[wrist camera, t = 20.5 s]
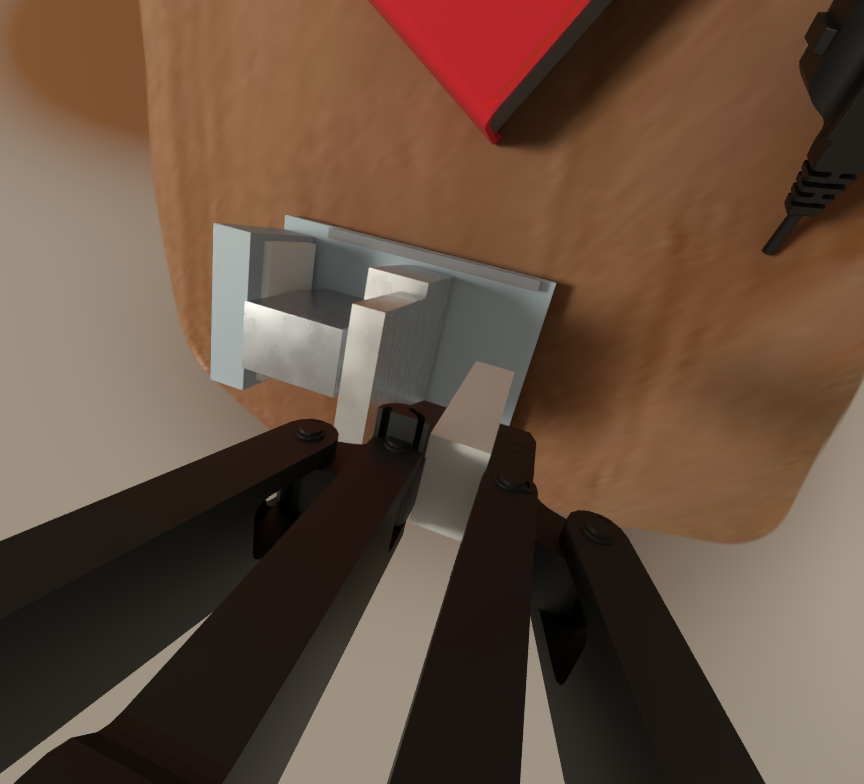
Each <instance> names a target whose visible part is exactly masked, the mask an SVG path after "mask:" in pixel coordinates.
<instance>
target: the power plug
mask: <svg viewBox="0 0 864 784" xmlns="http://www.w3.org/2000/svg"><path fill="white" fill-rule="evenodd" d="M805 39H806V41H807V43H808V47H807V49H806V51H805V52H804V54H803V56H802V58H801V59H800V61H799V66H800V73H801V76H802V79H803V81H804V84H805V86H806V89H807V91H808V93H809V96H810V98H811V101H812V103H813V105H814V107H815V108H816V110H817V111H818V112H819V113H820V115H821V116H822V117H823V119H824V125H823V128H822V130H821V131H820V133H819V134H818V136H817V137H816V139H815V140H814V142H813V144H812V146H811V148H810V150H809V152H808V154H807V158H808V160H805V161H804V162H803V165H802V167H801V168H802V171H800V172H799V173H798V175H797V177H796V180H797V182H795V183H793V185H792V187H791V193H789V194H788V196H787V198H786V200H785V203H784V204H785V208H786V212H787V214H788V215H787V216H786V218H785V219H784V220H783V222H782V223H781V224H780V226H779V227H778V229H777V230H776V231H775V233H774V234H773V235H772V237H771V238H770V239H769V241H768V242H767V244H766V245H765V246H764V248H763V249H762V251H763V253H765V254H767V255H773V254H774V253H775V252H776V251H777V250H778V248H779V247H780V246H781V244H782V243H783V242H784V240H785V239H786V238H787V237H788V235H789V234H790V233H791V231H792V230H793V229H794V228H795V226H796V225H797V224H798V222H799V221H800V220H801V218H802V217H803V216H809V217H814V216H816V215H818V214H819V213H820V212H821V211H822V210H823V209H824V208H825V204H830V203H831V202H832V201H833V200H834V199H835V195H839V194H841V193H842V192H843V191H844V190H845V189H846V187H845V185H850V184H852V183H853V182H854V181H855V180H856V179H857V177H856V175H855V174H858V175H859V174H862V173H864V0H834V1H833V2H832V3H831V4H830V6H829V8H828V11H827V12H818V13H817V15H816V17H815V19H814V20H813V22H812V24H811V26H810V28H809V30H808V31H807V33H806V35H805Z"/></svg>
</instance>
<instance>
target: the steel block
mask: <svg viewBox="0 0 864 784" xmlns="http://www.w3.org/2000/svg"><path fill="white" fill-rule="evenodd" d="M360 301H364V299H363V298H360V297H356V296H352V295H349V294H345V293H342V292H338V291H335V290H331V289H328V288H322V289H316V290H309V291H303V292H297V293H290V294H284V295H278V296H271V297H265V298H259V299H252V300H246V301H245V308H244V328H243V348H242V368H245V369H248V370H251V371H254V372H257V373H260V374H263V375H266V376H269V377H272V378H275V379H278V380H281V381H284V382H287V383H290V384H293V385H296V386H299V387H302V388H305V389H308V390H311V391H314V392H317V393H320V394H324V395H327V396H330V397H335V396H336V395H338V394H339V389H340V383H341V376H342V369H343V362H344V356H345V349H346V342H347V335H348V329H349V322H350V315H351V308H352V303H356V302H360Z"/></svg>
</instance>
